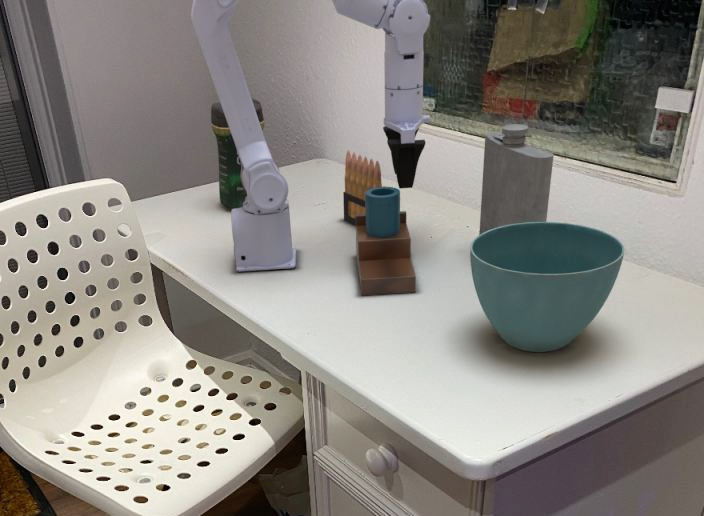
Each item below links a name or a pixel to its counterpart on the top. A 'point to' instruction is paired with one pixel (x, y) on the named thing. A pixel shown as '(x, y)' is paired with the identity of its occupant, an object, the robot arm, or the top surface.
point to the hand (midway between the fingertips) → (403, 180)
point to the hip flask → (514, 179)
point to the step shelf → (384, 260)
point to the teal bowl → (543, 280)
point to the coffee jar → (230, 158)
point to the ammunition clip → (358, 184)
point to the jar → (382, 211)
